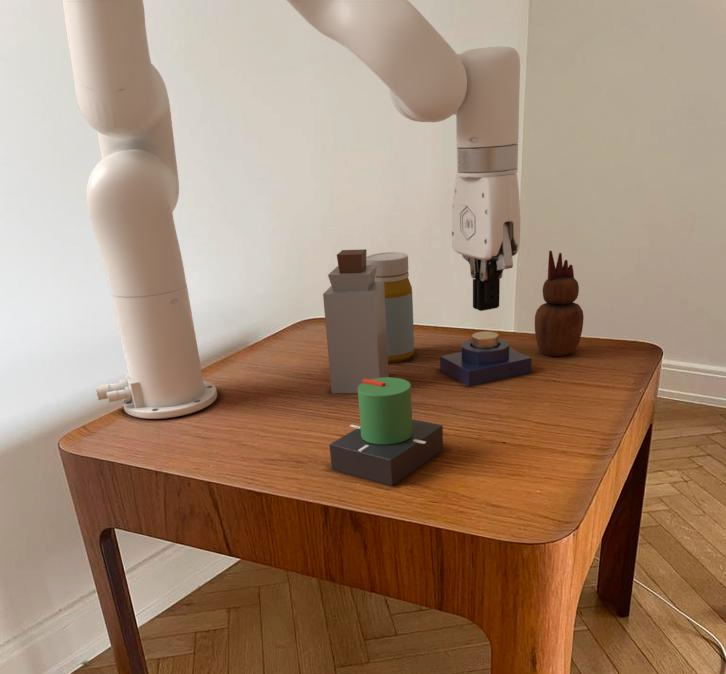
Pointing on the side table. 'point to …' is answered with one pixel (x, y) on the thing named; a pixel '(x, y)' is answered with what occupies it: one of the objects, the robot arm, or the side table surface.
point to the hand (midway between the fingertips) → (486, 307)
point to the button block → (484, 363)
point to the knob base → (386, 454)
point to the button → (485, 340)
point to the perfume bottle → (355, 323)
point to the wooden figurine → (559, 311)
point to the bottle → (396, 303)
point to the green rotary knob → (385, 410)
